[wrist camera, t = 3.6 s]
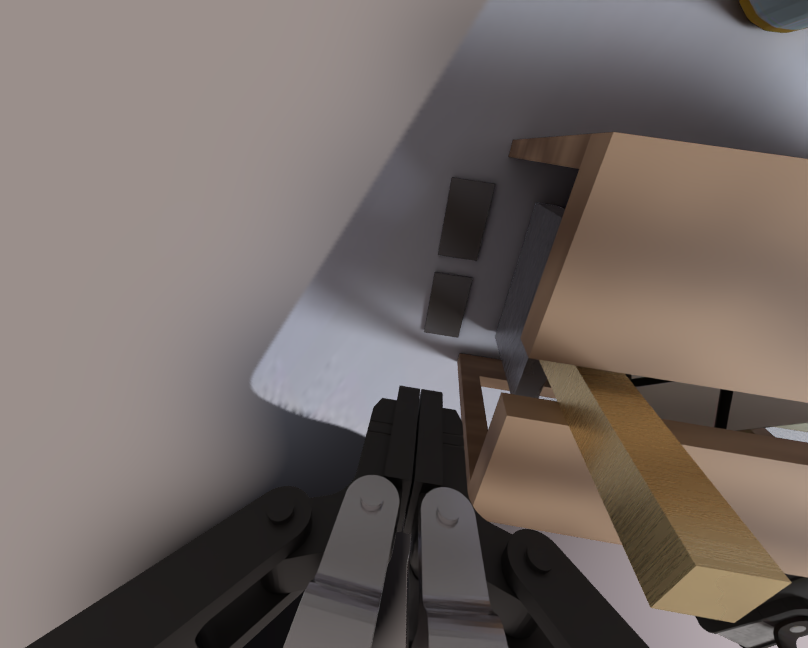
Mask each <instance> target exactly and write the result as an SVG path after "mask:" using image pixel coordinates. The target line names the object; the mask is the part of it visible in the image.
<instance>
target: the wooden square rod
mask: <svg viewBox="0 0 808 648" xmlns="http://www.w3.org/2000/svg"><path fill="white" fill-rule="evenodd" d="M564 211H565V209H563V208H561V207H559V206H557V205H551V204H544V203H537V202H536V204H535V207H534V210H533V213H532V217H531V220H530V223H529V227H528V230H527V233H526V236H525V240H524V243H523V246H522V250H521V253H520V256H519V260H518V263H517V266H516V269H515V273H514V276H513V279H512V283H511V286H510V289H509V292H508V296H507V299H506V302H505V306H504V309H503V312H502V315H501V319H500V322H499V325H498V329H497V332H496V335H495V339H496V343H497V346H498V350H499V354H500V357H501V361H502V364H503V368H504V372H505V375H506V379H507V383H508V386H509V390H510V393H511V394H514V395H520V396H526V397H532V398H539V396H540V393H541V391H542V389H543V386H544V384H545V382H546V379H548V381H549V383H550V386H551V388H552V390H553V392H554V395H555V397H556V399H557V401H558V403H559V406H560V408H561V410H562V412H563V415H564V417H565V419H566V421H567V423H568V426H569V428H570V430H571V432H572V434H573V437H574V439H575V441H576V443H577V446H578V448H579V450H580V452H581V454H582V457H583V459H584V461H585V463H586V466H587V468H588V470H589V472H590V474H591V477H592V479H593V481H594V483H595V485H596V488H597V490H598V492H599V494H600V497H601V499H602V501H603V503H604V505H605V508H606V510H607V512H608V514H609V517H610V519H611V521H612V523H613V525H614V528H615V530H616V532H617V534H618V536H619V539H620V541H621V543H622V545H623V547H624V550H625V552H626V554H627V556H628V559H629V561H630V563H631V565H632V567H633V570H634V572H635V574H636V576H637V578H638V581H639V583H640V585H641V587H642V590H643V592H644V594H645V596H646V598H647V601H648V603H649V605H650V607H651V608H655V609H660V610H666V611H671V612H677V613H682V614H688V615H694V616H699V617H704V618H710V619H715V620H721V621H726V622H732V623H735V622H736V621H738V620H739V619H741V618H742V617H743V616H745V615H746V614H748V613H749V612H751V611H752V610H753V609H755V608H756V607H758V606H759V605H761V604H762V603H763V602H765V601H766V600H768V599H769V598H771V597H772V596H774V595H775V594H776V593H778V592H779V591H781V590H782V589H784V588H785V587H786V586H788V585H789V584H791V583H792V582H791V581H790V580H789V579H788V577H787V576H786V575H785V574H784V572H783V571H782V570H781V569H780V567H779V566H778V565H777V564H776V562H775V561H774V560H773V559H772V557H771V556H770V555H769V554H768V552H767V551H766V550H765V549H764V547H763V546H762V545H761V544H760V542H759V541H758V540H757V539H756V537H755V536H754V535H753V534H752V532H751V531H750V530H749V529H748V527H747V526H746V525H745V524H744V522H743V521H742V520H741V519H740V517H739V516H738V515H737V514H736V512H735V511H734V510H733V509H732V507H731V506H730V505H729V504H728V502H727V501H726V500H725V499H724V497H723V496H722V495H721V494H720V492H719V491H718V490H717V489H716V487H715V486H714V485H713V484H712V482H711V481H710V480H709V479H708V477H707V476H706V475H705V474H704V472H703V471H702V470H701V469H700V467H699V466H698V465H697V464H696V462H695V461H694V460H693V459H692V457H691V456H690V455H689V454H688V452H687V451H686V450H685V449H684V447H683V446H682V445H681V444H680V442H679V441H678V440H677V439H676V437H675V436H674V435H673V434H672V432H671V431H670V430H669V429H668V427H667V426H666V425H665V424H664V422H663V421H662V420H661V419H660V417H659V416H658V415H657V414H656V412H655V411H654V410H653V408H652V407H651V406H650V405H649V403H648V402H647V401H646V400H645V398H644V397H643V396H642V395H641V393H640V392H639V391H638V390H637V388H636V387H635V386H634V385H633V383H632V382H631V381H630V380H629V378H628V377H627V376H626V375H625V373H618V372H612V371H606V370H600V369H594V368H587V367H581V366H575V365H569V364H562V363H556V362H550V361H544V360H537V359H531V358H528V356H527V353H526V351H525V348H524V346H523V343H522V341H521V338H520V337H521V335H522V332H523V329H524V326H525V323H526V320H527V317H528V315H529V312H530V309H531V306H532V303H533V300H534V297H535V294H536V292H537V289H538V286H539V283H540V280H541V277H542V274H543V272H544V269H545V266H546V263H547V260H548V257H549V254H550V251H551V249H552V246H553V243H554V240H555V237H556V234H557V231H558V229H559V226H560V223H561V220H562V217H563V214H564Z"/></svg>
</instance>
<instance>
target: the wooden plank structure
mask: <svg viewBox="0 0 808 648" xmlns="http://www.w3.org/2000/svg"><path fill="white" fill-rule="evenodd" d="M509 157H513V158H518V159H524V160H530V161H536V162H542V163H548V164H553V165H559V166H565V167H571V168H577V169H579V171H578V174H577V177H576V180H575V183H574V186H573V188H572V191H571V194H570V197H569V200H568V203H567V206H566V208H565V211H564V214H563V217H562V220H561V223H560V226H559V229H558V231H557V234H556V237H555V240H554V243H553V246H552V249H551V251H550V254H549V257H548V260H547V263H546V266H545V269H544V272H543V274H542V277H541V280H540V283H539V286H538V289H537V292H536V294H535V297H534V300H533V303H532V306H531V309H530V312H529V315H528V317H527V320H526V323H525V326H524V329H523V332H522V335H521V337H520V338H521V341H522V343H523V346H524V348H525V351H526V353H527V356H528V358H531V359H537V360H544V361H550V362H556V363H562V364H569V365H575V366H581V367H587V368H594V369H600V370H606V371H612V372H618V373H625V374H631V375H637V376H643V377H650V378H656V379H662V380H668V381H675V382H681V383H687V384H693V385H699V386H706V387H712V388H718V389H724V390H731V391H737V392H743V393H749V394H756V395H762V396H768V397H774V398H780V399H787V400H793V401H799V402H805V403H808V159H804V158H797V157H789V156H782V155H775V154H768V153H761V152H754V151H746V150H739V149H732V148H725V147H718V146H711V145H703V144H696V143H689V142H682V141H675V140H667V139H660V138H653V137H646V136H639V135H632V134H624V133H617V132H607V133H594V134H581V135H569V136H556V137H543V138H530V139H517V140H513V141H512V145H511V149H510V153H509ZM494 187H495V184H493V183H486V182H479V181H472V180H466V179H459V178H452V179H451V185H450V191H449V196H448V202H447V207H446V213H445V218H444V224H443V230H442V235H441V241H440V246H439V252H438V255H442V256H449V257H456V258H462V259H469V260H475V261H477V257H478V253H479V249H480V245H481V241H482V237H483V232H484V228H485V224H486V220H487V216H488V212H489V208H490V203H491V199H492V195H493V191H494ZM471 282H472V277H465V276H459V275H452V274H446V273H439V272H435V274H434V280H433V285H432V291H431V296H430V302H429V308H428V313H427V319H426V324H425V330H424V332H426V333H432V334H439V335H445V336H451V337H457V338H458V336H459V332H460V328H461V324H462V320H463V316H464V311H465V307H466V303H467V299H468V295H469V291H470V287H471ZM457 364H458V378H459V392H460V406H461V421H462V423H463V438H464V450H465V463H466V477H467V490H468V496H469V499H470V501H471V503H472V505H473V507H474V508H475V510H476V511H477V512H478V513H479V514H480V515H481V516H482V517H483V518H484V519H485V520H487V521H488V522H494V523H500V524H506V525H512V526H517V527H524V528H528V529H534V530H540V531H545V532H551V533H557V534H562V535H568V536H574V537H580V538H586V539H591V540H597V541H603V542H608V543H614V544H620V545H622V543H621V541H620V539H619V536H618V534H617V532H616V530H615V528H614V525H613V523H612V521H611V519H610V517H609V514H608V512H607V510H606V508H605V505H604V503H603V501H602V499H601V497H600V494H599V492H598V490H597V488H596V485H595V483H594V481H593V479H592V477H591V474H590V472H589V470H588V468H587V466H586V463H585V461H584V459H583V457H582V454H581V452H580V450H579V448H578V446H577V443H576V441H575V439H574V437H573V434H572V432H571V430H570V428H569V426H568V423H567V421H566V419H565V417H564V415H563V412H562V410H561V408H560V406H559V403H558V402H556V401H550V400H544V399H538V398H532V397H526V396H520V395H514V394H508V393H502V392H501V395H500V398H499V401H498V403H497V406H496V409H495V412H494V415H493V418H492V421H491V423H490V426H489V429H488V427H487V421H486V414H485V408H484V402H483V396H482V390H481V386H482V387H489V388H495V389H501V390H507V391H510V390H509V386H508V383H507V379H506V375H505V372H504V368H503V364H502V361H501V360H499V359H493V358H487V357H480V356H474V355H468V354H462V353H460V354H459V358H458V362H457ZM540 396H544V397H550V398H556V397H555V395H554V392H553V390H552V388H551V386H550V383H549V381H548V379H546V382H545V384H544V386H543V389H542V391H541V393H540ZM661 420H662V421H663V422H664V424H665V425H666V426H667V427H668V429H669V430H670V431H671V432H672V434H673V435H674V436H675V437H676V439H677V440H678V441H679V442H680V444H681V445H682V446H683V447H684V449H685V450H686V451H687V452H688V454H689V455H690V456H691V457H692V459H693V460H694V461H695V462H696V464H697V465H698V466H699V467H700V469H701V470H702V471H703V472H704V474H705V475H706V476H707V477H708V479H709V480H710V481H711V482H712V484H713V485H714V486H715V487H716V489H717V490H718V491H719V492H720V494H721V495H722V496H723V497H724V499H725V500H726V501H727V502H728V504H729V505H730V506H731V507H732V509H733V510H734V511H735V512H736V514H737V515H738V516H739V517H740V519H741V520H742V521H743V522H744V524H745V525H746V526H747V527H748V529H749V530H750V531H751V532H752V534H753V535H754V536H755V537H756V539H757V540H758V541H759V542H760V544H761V545H762V546H763V547H764V549H765V550H766V551H767V552H768V554H769V555H770V556H771V557H772V559H773V560H774V561H775V562H776V564H777V565H778V566H779V567H780V569H781V570H782V571H783V572H784V573H785V574H790V575H796V576H802V577H807V578H808V443H807V442H800V441H794V440H788V439H782V438H776V437H774V436H773V435H772V434H771V433H770V432H769V431H767V430H766V429H765V428H757V429H748V430H739V431H733V430H727V429H721V428H715V427H709V426H703V425H697V424H691V423H685V422H678V421H672V420H666V419H661ZM775 427H778V428H784V429H790V430H796V431H803V432H808V423H802V424H793V425H784V426H775Z"/></svg>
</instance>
